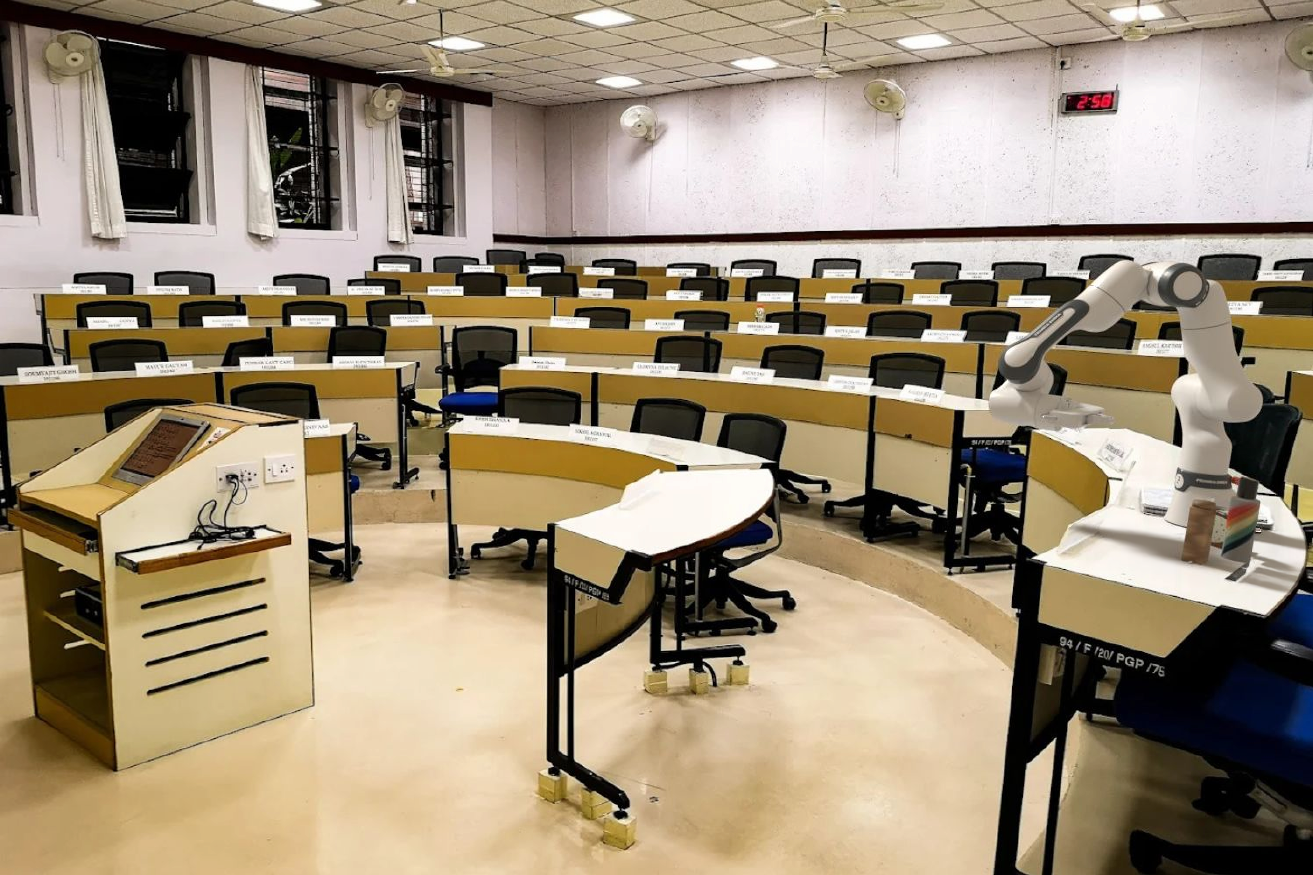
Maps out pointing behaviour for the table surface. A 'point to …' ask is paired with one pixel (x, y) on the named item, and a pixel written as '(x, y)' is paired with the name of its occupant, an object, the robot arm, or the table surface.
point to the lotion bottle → (1241, 522)
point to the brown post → (1199, 531)
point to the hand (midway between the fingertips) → (1112, 421)
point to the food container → (1219, 526)
